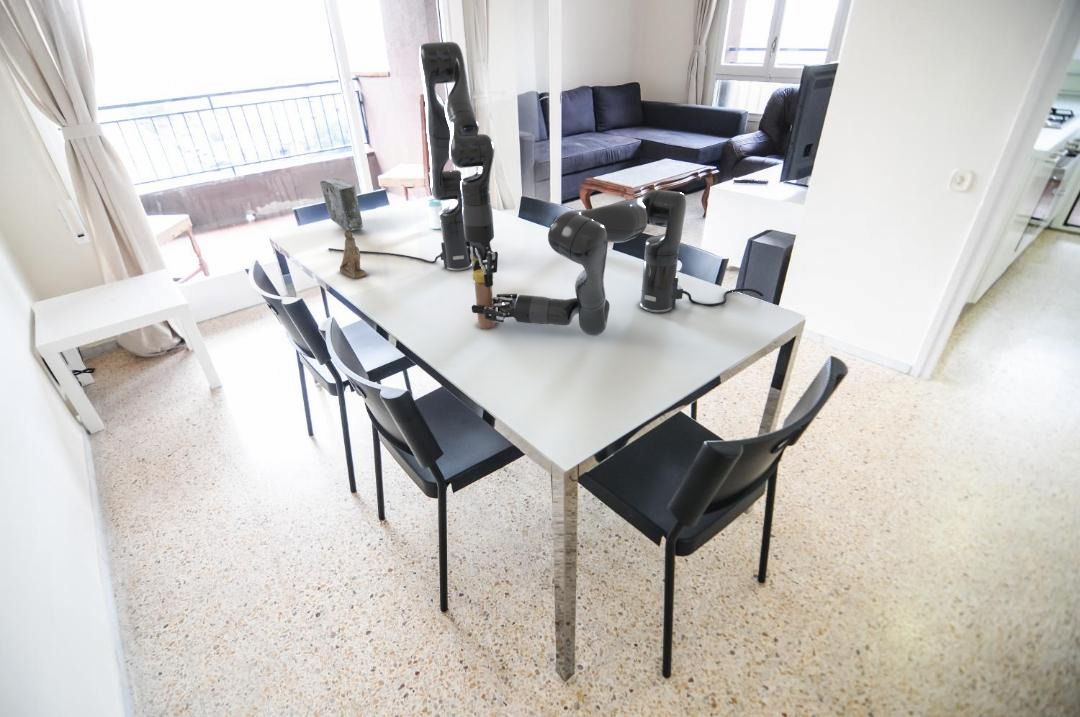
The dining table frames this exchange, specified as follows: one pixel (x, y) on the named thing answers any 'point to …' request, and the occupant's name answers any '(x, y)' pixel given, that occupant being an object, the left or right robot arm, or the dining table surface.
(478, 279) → the lid
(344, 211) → the concrete block
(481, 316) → the jar
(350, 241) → the worn brown figurine
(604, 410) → the dining table surface
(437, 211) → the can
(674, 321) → the dining table surface
